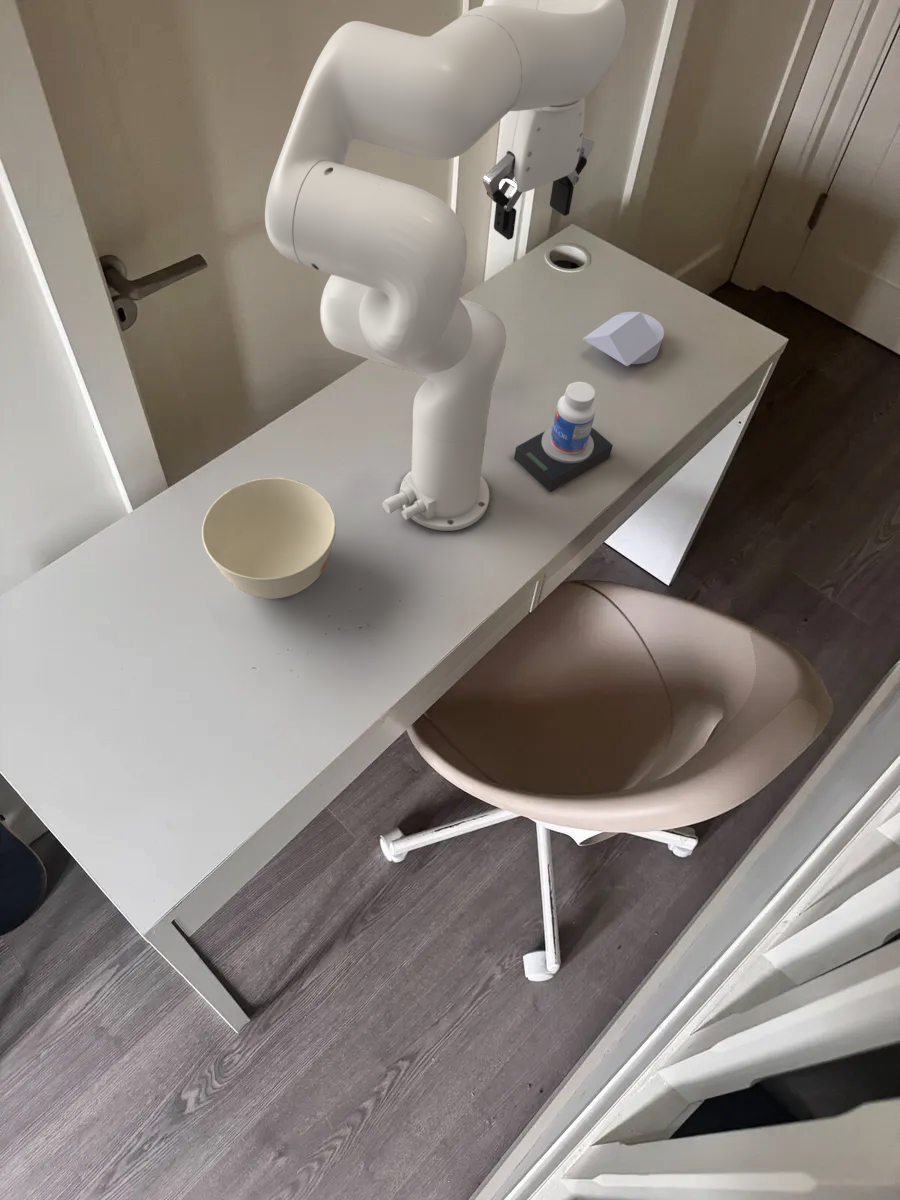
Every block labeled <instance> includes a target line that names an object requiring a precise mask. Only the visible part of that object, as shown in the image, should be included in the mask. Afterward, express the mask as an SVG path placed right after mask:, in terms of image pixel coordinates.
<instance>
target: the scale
mask: <svg viewBox="0 0 900 1200" xmlns="http://www.w3.org/2000/svg"><path fill="white" fill-rule="evenodd" d="M552 428H553V425H551V426H550V427H548V428H547V429H546V430H544V431H543V432H541V433H539V434H537V435H535V436H533V437H531V438H530V439H528V440H526V441H524V442H522V443H521V444H519V445H517V446H516V447H515V450H514V458H513V460H515V461H516V462H517V463H518V464H519V465H520V466H521V467H522V468H523V469H525V471H526V472H528V473H529V474H530V475H531V476H532V477H533V478H534V479H535V480H536V481H538V482H539V483H540V484H541V485H542V486H543V487H544V488H545V489H546V490H547V491H548V492H550V493H552V492H553V491H554V490H556V489H558V488H560V487H562V486H563V485H564V484H567V483H568V482H570V481H571V480H573V479H575V478H577V477H579V476H580V475H582V474H583V473H586V472H587V471H589V470H590V469H592V468H593V467H595V466H597V465H599V464H600V463H602V462H604V461H605V460H607V459H609V458H610V457H611V454H612V450H613V447H614V444H613V443H611V442H610V441H609V440H607V438H605V437H604V436H603V435H602V434H601V433H600V432H598V431H597V430H596V429H595V428H594V427H592V428H591V432H590V435H589V439H588V443H587V445H586V447H585V448H584V450H582V451H581V452H579V453H575V454H566V453H563V452H560V451H558V450H557V449H556V448H555V447H554V446H553V445H552V443H551V433H552Z"/></svg>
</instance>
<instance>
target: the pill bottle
mask: <svg viewBox="0 0 900 1200" xmlns="http://www.w3.org/2000/svg"><path fill="white" fill-rule="evenodd" d="M595 397H596V390H595V388H594V387H593V386H592V384H589V383H588V382H584V381H573V382H571V383H569V384H568V385H567V387H566V389H565V393H564V394H563V395H562V396H561V397H560V398H559V399H558V402H557V406H556V410H555V415H554V420H553V423H552V426H553V428H552V433H551V443H552V445H553V446H554V447H555V448H556V449H557V450H558V451H560V452H563V453H566V454H575V453H579V452H581V451H582V450H584V448H585V447H586V445H587V443H588V439H589V435H590V432H591V428H593V423H594V421H595V416H596V412H597V404H596V402H595Z"/></svg>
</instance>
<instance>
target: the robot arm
mask: <svg viewBox="0 0 900 1200" xmlns="http://www.w3.org/2000/svg"><path fill="white" fill-rule="evenodd" d="M625 33H626V11H625V6H624V4H623V1H622V0H483V2H482V5H481V6H477V7H474V8H472V9H470V10H467V11H466V12H464V13H463V14H461V15H460V16H459V17H457V18H456V19H454V20H453V21H451V22H450V23H448V24H447V25H446V26H444V27H443V28H441V29H440V30H438V31H436V32H435V33H433V34H431V35H430V36H423V35H417V34H414V33H413V34H412V33H409V32H405V31H401V30H398V29H393V28H390V27H385V26H381V25H378V24H373V23H371V22H367V21H361V20H353V21H352V20H351V21H349V22H346V23H344V24H343V25H341V26H340V27H339V28H338V29H337V30H336V31H335V32H334V33H333V34H332V35H331V37H330V38H329V39H328V40H327V42H326V43H325V45H324V47H323V49H322V51H321V53H320V54H319V56H318V58H317V59H316V62H315V64H314V66H313V68H312V70H311V72H310V74H309V76H308V79H307V82H306V84H305V87H304V89H303V91H302V94H301V96H300V100H299V102H298V105H297V107H296V109H295V110H296V111H295V112H294V114H293V118H292V121H291V124H290V127H289V129H288V132H287V134H286V138H285V140H284V143H283V145H282V148H281V150H280V154H279V156H278V159H277V162H276V165H275V167H274V170H273V173H272V174H271V175H272V176H271V179H270V182H269V186H268V190H267V194H266V197H265V198H266V199H265V207H264V223H265V230H266V234H267V236H268V239H269V241H270V243H271V244H272V246H273V248H274V249H275V250H276V251H277V252H278V253H279V254H280V255H282V256H283V257H285V258H286V259H287V260H289V261H291V262H294V263H296V264H298V265H300V266H304V267H306V268H310V269H313V270H316V271H320V272H323V273H325V274H329V275H330V276H329V278H328V279H327V282H326V284H325V286H324V289H323V292H322V293H321V294H322V295H321V299H320V308H319V315H320V323H321V327H322V331H323V333H324V336H325V338H326V340H327V341H328V342H329V343H330V345H332V346H333V347H334V348H336V349H338V350H340V351H343V352H347V353H350V354H352V355H355V356H359V357H361V358H365V359H366V360H367V359H368V360H370V361H373V362H376V363H379V364H383V365H385V366H389V367H392V368H395V369H399V370H402V371H406V372H409V373H412V374H415V375H417V376H420V377H423V378H425V379H426V380H425V381H424V382H423V383H422V384H421V385H420V387H419V388H418V390H417V392H416V393H415V395H414V399H413V405H412V435H411V436H412V439H411V441H412V443H411V470H409V471H408V472H407V473H406V474H405V476H404V478H403V479H402V481H401V484H400V486H399V487H400V489H399V492H398V493H397V494H395V495H394V494H393V495H391V496H390V497H387V498H386V499H384V500H382V502H381V504H382V508H383V510H384V511H385V513H387V515H388V514H391V513H393V512H395V511H397V510H399V509H401V507H402V509H401V511H400V513H401V516H402V518H403V519H404V520H405V521H407V520H409V519H411V520H412V521H414V522H415V523H417V524H419V525H421V526H423V527H425V528H427V529H431V530H436V531H443V532H446V531H457V530H462V529H465V528H468V527H470V526H472V525H473V524H476V523H477V522H478V521H479V520H480V519H481V518H482V517H483V516H484V515H485V513H486V511H487V509H488V507H489V502H490V489H489V485H488V482H487V481H486V479H485V478H484V476H483V475H482V469H483V460H484V453H485V447H486V446H485V444H486V436H487V429H488V420H489V413H490V405H491V400H492V399H491V398H492V395H493V394H492V393H493V388H494V385H495V381H496V378H497V375H498V371H499V368H500V365H501V363H502V360H503V356H504V352H505V348H506V342H507V332H506V327H505V324H504V322H503V320H502V319H501V318H500V317H499V316H498V315H497V314H496V313H495V312H494V311H492V310H490V309H489V308H488V307H485V306H484V305H481V304H479V303H477V302H473V301H471V300H468V299H465V298H462V297H460V294H461V289H462V285H463V280H464V276H465V271H466V266H467V256H468V243H467V236H466V231H465V228H464V226H463V223H462V221H461V219H460V218H459V216H458V215H457V213H456V212H455V211H454V210H453V209H452V208H451V206H450V205H448V204H447V202H444V200H443V199H441V198H439V197H438V196H436V195H434V194H433V193H430V192H429V191H427V190H425V189H422V188H420V187H417V186H416V185H412V184H408V183H406V182H402V181H399V180H396V179H392V178H389V177H386V176H382V175H378V174H376V173H373V172H368V171H365V170H361V169H358V168H355V167H351V166H347V165H345V163H346V160H347V156H348V153H349V151H350V147H351V144H352V142H353V141H354V140H358V141H362V142H365V143H369V144H372V145H375V146H379V147H382V148H387V149H390V150H392V151H396V152H400V153H404V154H407V155H411V156H414V157H418V158H422V159H426V160H432V161H433V160H434V161H443V160H450V159H454V158H457V157H459V156H461V155H463V154H464V153H466V152H467V151H469V150H470V149H471V148H472V147H473V146H475V145H476V144H477V143H478V142H479V141H480V140H481V139H482V138H483V137H484V136H485V135H486V134H487V133H488V132H489V131H490V130H491V129H492V128H493V127H494V126H496V125H497V124H498V123H499V122H500V121H501V120H502V119H503V117H505V118H504V122H503V126H502V132H501V137H500V142H499V148H498V155H497V162H496V164H495V165H494V166H493V167H492V168H491V169H490V170H489V171H488V172H486V174H485V175H484V176H483V178H482V183H483V185H484V188H485V190H486V195H487V196H488V197H489V198H490V200H492V202H494V203H495V211H494V219H493V229H494V231H495V232H497V233H498V234H499V235H501V236H502V237H504V238H505V239H506V240H512V239H514V235H515V227H516V220H517V209H516V208H515V206H516V204H517V202H518V200H519V199H520V197H521V196H522V194H523V193H525V192H530V191H532V190H535V189H538V188H539V187H542V186H545V185H547V184H551V183H552V187H551V192H550V193H551V194H550V198H549V199H550V200H549V206H550V207H551V208H552V209H553V210H555V212H558V213H559V214H560V215H562V216H564V217H566V216H568V215H570V211H571V206H572V199H573V195H574V189H575V186H576V185H577V184H578V183H579V181H580V174H581V172H582V171H583V169H584V168H585V167H586V165H587V163H588V158H589V156H590V154H591V152H592V150H593V149H594V147H595V141H594V140H593V139H591V138H590V137H588V136H586V135H584V124H585V112H586V111H585V109H586V97H587V96H588V95H589V94H591V93H592V92H593V91H594V90H595V88H596V87H597V86H598V85H599V84H600V83H601V82H602V81H603V79H604V78H605V77H606V76H607V75H608V73H609V72H610V70H611V69H612V67H613V65H614V63H615V61H616V59H617V58H618V55H619V53H620V50H621V48H622V45H623V42H624V37H625ZM510 187H512V188H513V189H512V191H511V192H510V193H509V195H508V197H507V195H505V194H506V193H507V192H508V190H509V188H510Z"/></svg>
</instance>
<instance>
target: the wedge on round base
mask: <svg viewBox="0 0 900 1200" xmlns="http://www.w3.org/2000/svg"><path fill="white" fill-rule="evenodd" d="M664 334H665V331H664V328H663V326H662V324H661V323H660V322H659V321H658V320H657V319H655V318H654V317H653V316H650V315H649V314H646V313H643V312H642V311H623V312H621V313H618V314H616V315H614V316H612V317H611V318H609V319H608V320H607V321H606V322H605V321H604V323H603V324H601V325H600V326H598V327H597V328H596V329H594V330H593V331H592V332H591V331H590V333H588V334H587V335H586V336H584V337H583V338H582V340H583V341H585V342H586V343H588V344H590V345H591V346H593V347H595V348H596V349H598V350H600V351H601V352H603V353H604V354H606V355H608V356H609V357H611V358H613V359H614V360H615V361H618V362H619V363H621V364H622V365H624V366H626V367H628V366H630V365H631V364H632V365H640V364H646V363H649V362H652V361H653V360H654V359H655V358H656V357H657V356H658V353H659V351H660V348H661V344H662V341H663V339H664V336H665V335H664Z"/></svg>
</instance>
